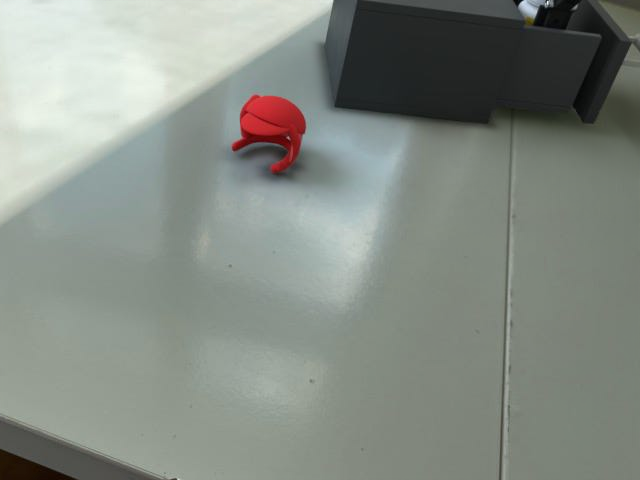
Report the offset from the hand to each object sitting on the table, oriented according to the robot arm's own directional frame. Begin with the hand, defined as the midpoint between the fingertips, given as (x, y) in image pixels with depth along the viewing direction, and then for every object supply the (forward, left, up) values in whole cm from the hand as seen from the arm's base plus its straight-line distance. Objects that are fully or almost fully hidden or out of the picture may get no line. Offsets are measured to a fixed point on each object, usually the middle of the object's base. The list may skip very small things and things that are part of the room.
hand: (534, 33), depth 80 cm
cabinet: (+12, 0, -7) cm, 14 cm away
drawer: (-3, 0, -6) cm, 7 cm away
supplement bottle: (0, 0, -4) cm, 4 cm away
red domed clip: (+27, +18, -7) cm, 33 cm away
